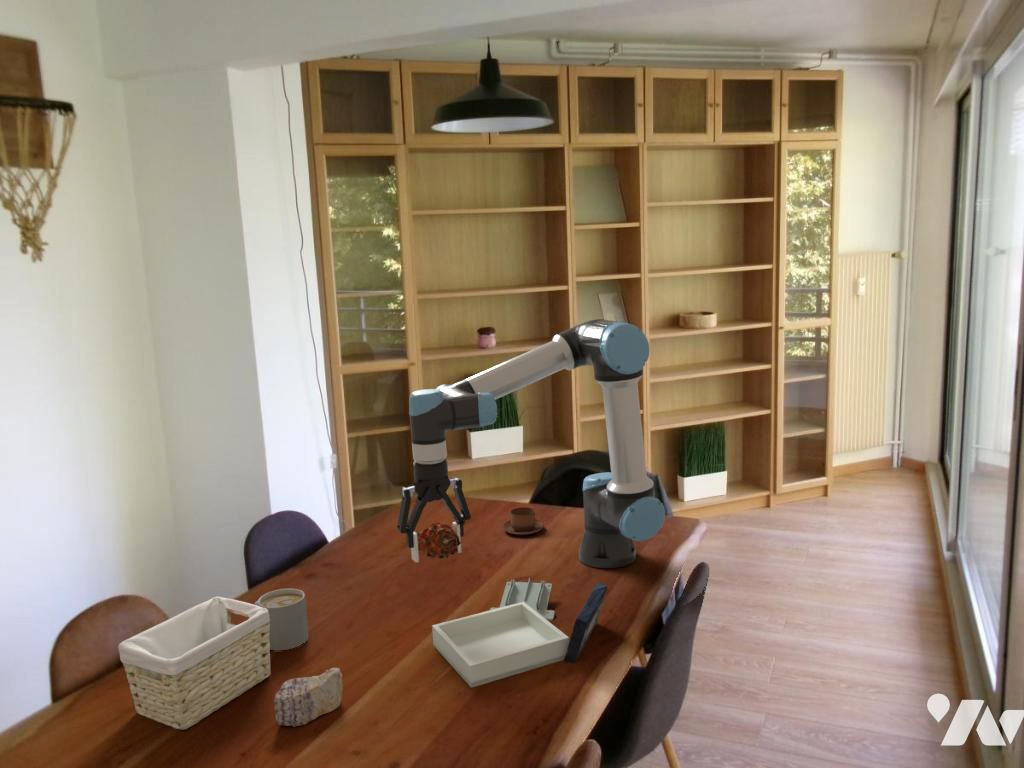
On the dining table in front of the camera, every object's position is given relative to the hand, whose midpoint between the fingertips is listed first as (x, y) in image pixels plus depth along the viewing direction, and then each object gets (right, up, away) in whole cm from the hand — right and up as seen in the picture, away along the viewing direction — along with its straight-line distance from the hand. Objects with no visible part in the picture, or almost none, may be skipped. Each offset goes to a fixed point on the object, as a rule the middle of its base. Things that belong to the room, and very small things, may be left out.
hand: (436, 555), depth 186 cm
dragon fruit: (0, 0, 0) cm, 0 cm away
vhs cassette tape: (+32, -16, -11) cm, 37 cm away
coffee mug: (-34, -18, -3) cm, 39 cm away
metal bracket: (+20, -14, +7) cm, 26 cm away
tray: (+14, -17, -14) cm, 26 cm away
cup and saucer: (+20, -5, +58) cm, 62 cm away
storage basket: (-43, -22, -26) cm, 55 cm away
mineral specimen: (-21, -22, -34) cm, 46 cm away
